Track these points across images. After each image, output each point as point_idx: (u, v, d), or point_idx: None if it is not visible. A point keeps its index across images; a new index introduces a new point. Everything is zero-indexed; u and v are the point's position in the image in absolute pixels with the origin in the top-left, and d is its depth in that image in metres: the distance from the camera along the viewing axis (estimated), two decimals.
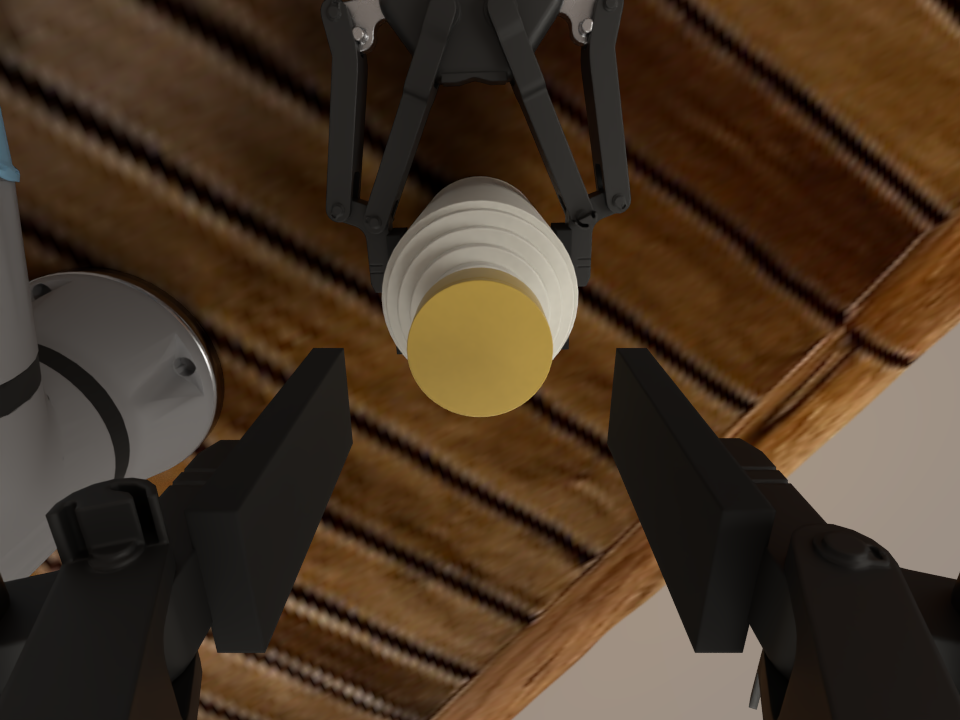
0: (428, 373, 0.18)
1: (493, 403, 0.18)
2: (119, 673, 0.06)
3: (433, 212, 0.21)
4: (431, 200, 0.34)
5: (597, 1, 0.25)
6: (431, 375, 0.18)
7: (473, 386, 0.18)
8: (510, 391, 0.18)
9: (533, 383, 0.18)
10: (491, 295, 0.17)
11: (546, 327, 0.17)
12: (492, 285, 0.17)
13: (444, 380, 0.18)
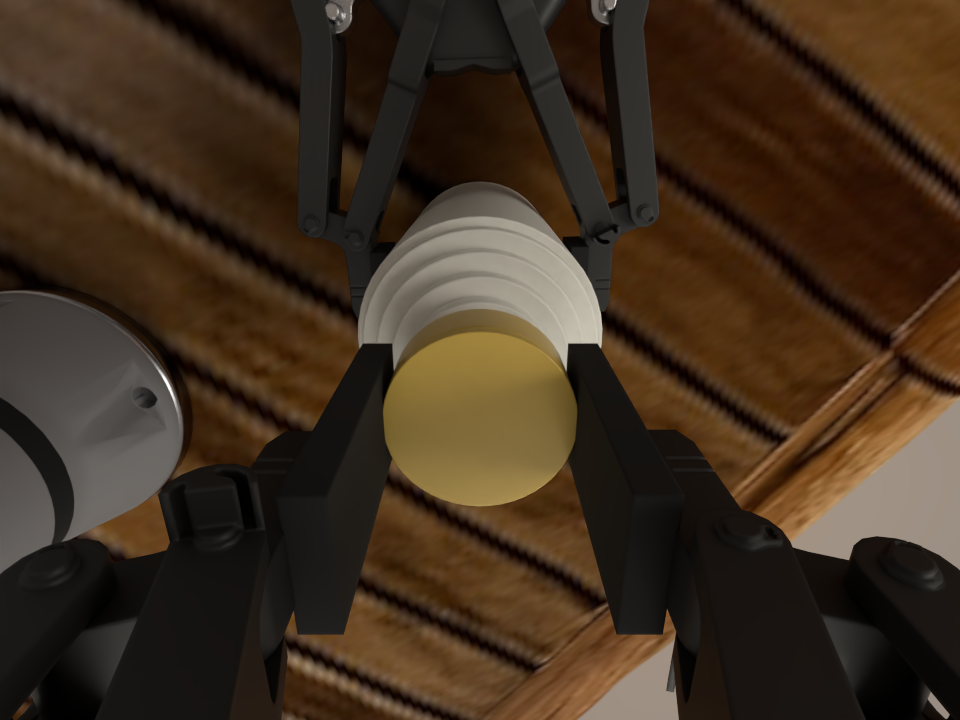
0: (411, 451, 0.13)
1: (498, 489, 0.14)
2: (223, 653, 0.06)
3: (421, 231, 0.17)
4: (424, 209, 0.30)
5: None
6: (415, 454, 0.13)
7: (471, 468, 0.13)
8: (520, 474, 0.13)
9: (551, 464, 0.13)
10: (495, 351, 0.12)
11: (570, 393, 0.13)
12: (497, 338, 0.12)
13: (432, 460, 0.13)
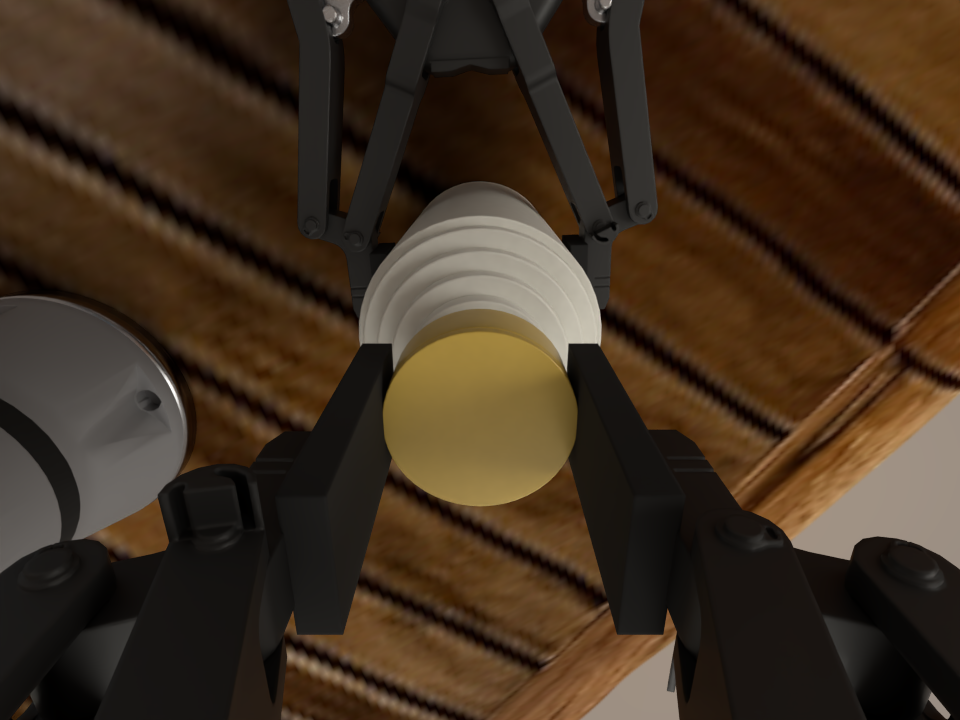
0: (542, 460, 0.13)
1: (536, 372, 0.12)
2: (222, 653, 0.06)
3: (420, 231, 0.17)
4: None
5: None
6: (543, 457, 0.13)
7: (528, 406, 0.13)
8: (508, 362, 0.12)
9: (479, 342, 0.12)
10: (407, 450, 0.13)
11: (400, 374, 0.12)
12: (396, 456, 0.13)
13: (540, 441, 0.13)
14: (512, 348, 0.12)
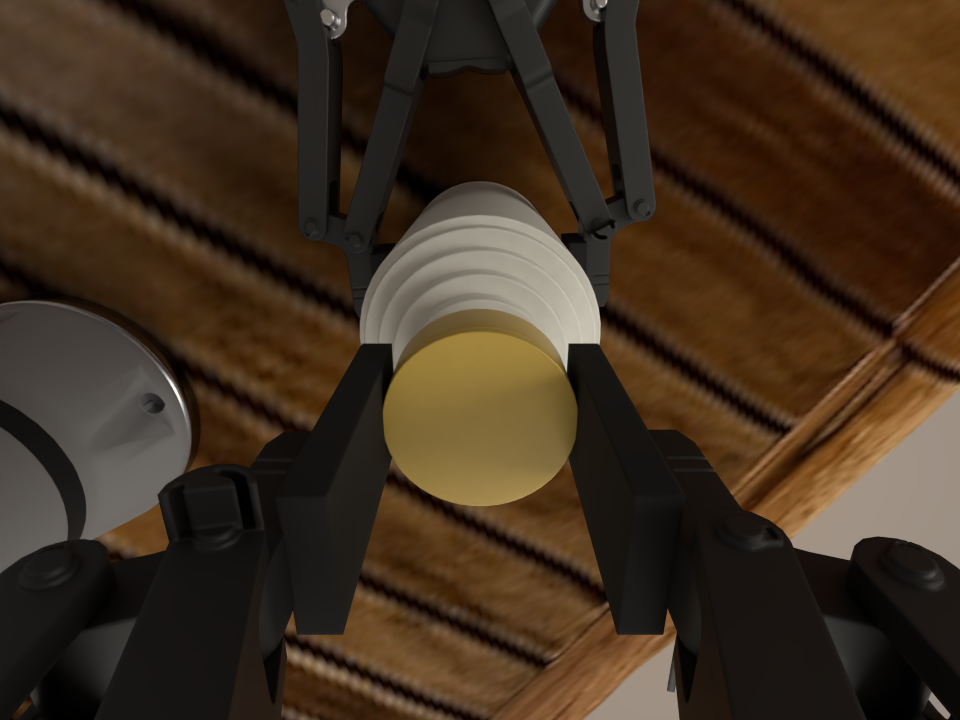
0: (480, 352, 0.12)
1: (401, 411, 0.13)
2: (222, 654, 0.06)
3: (419, 231, 0.17)
4: (423, 210, 0.30)
5: None
6: (476, 355, 0.12)
7: (436, 398, 0.13)
8: (409, 436, 0.13)
9: (409, 465, 0.13)
10: (543, 464, 0.13)
11: (475, 503, 0.14)
12: (554, 470, 0.13)
13: (462, 368, 0.12)
14: (396, 440, 0.13)
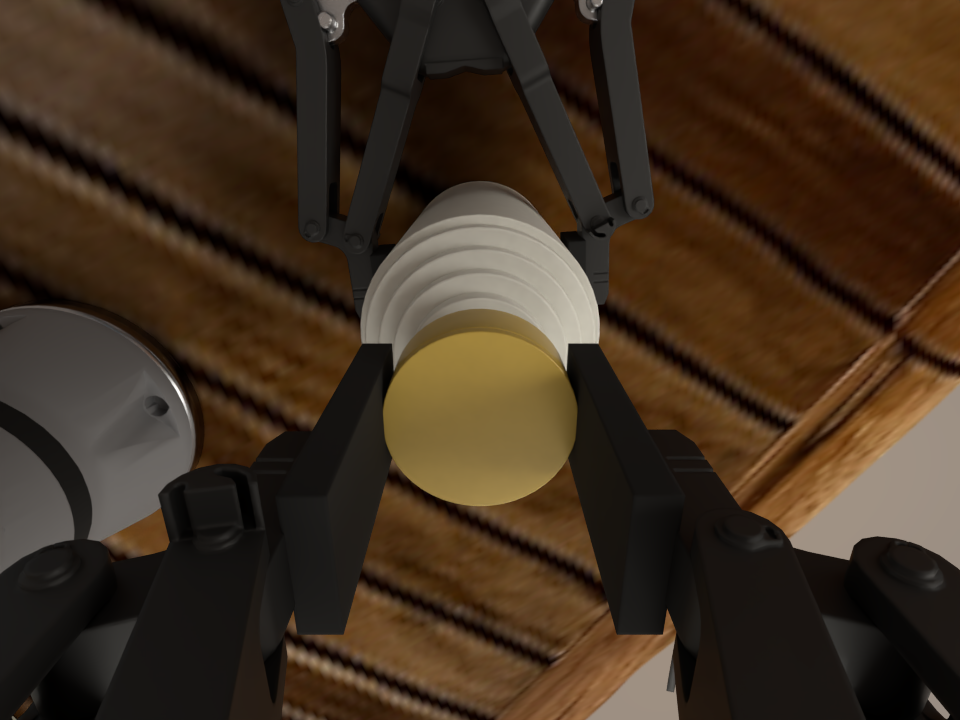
0: (416, 459, 0.13)
1: (508, 486, 0.14)
2: (223, 654, 0.06)
3: (418, 231, 0.17)
4: None
5: None
6: (421, 462, 0.13)
7: (478, 468, 0.13)
8: (528, 469, 0.13)
9: (557, 455, 0.13)
10: (484, 350, 0.12)
11: (565, 382, 0.12)
12: (483, 337, 0.12)
13: (439, 466, 0.13)
14: (539, 477, 0.13)
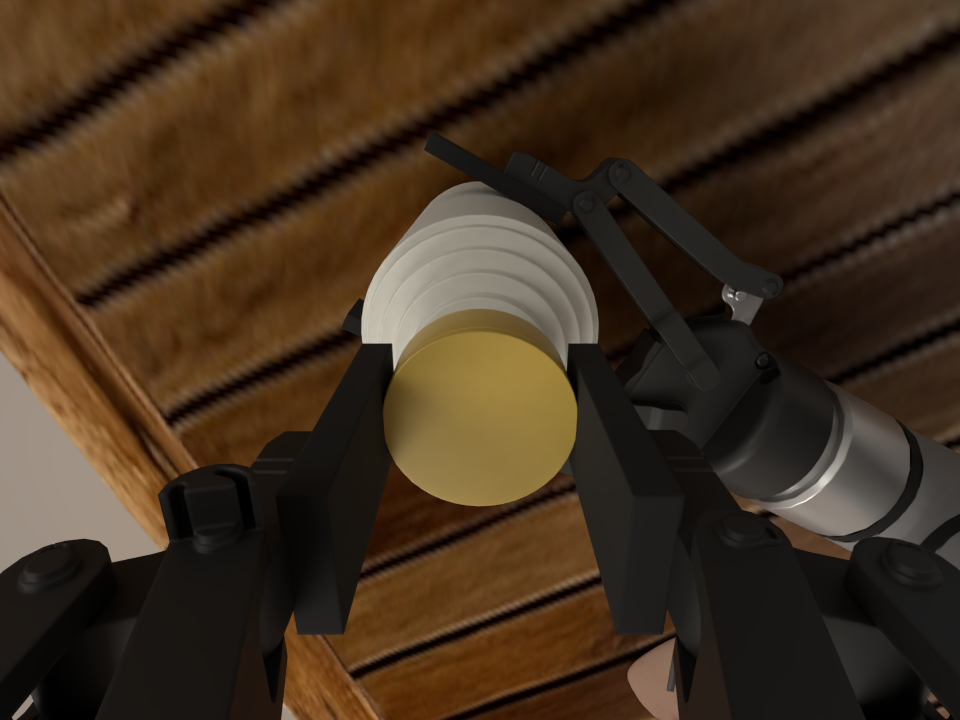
0: (416, 459, 0.13)
1: (508, 486, 0.14)
2: (222, 653, 0.06)
3: (596, 341, 0.19)
4: None
5: None
6: (421, 461, 0.13)
7: (478, 468, 0.13)
8: (528, 469, 0.13)
9: (557, 455, 0.13)
10: (484, 350, 0.12)
11: (565, 382, 0.12)
12: (483, 337, 0.12)
13: (439, 466, 0.13)
14: (539, 477, 0.13)
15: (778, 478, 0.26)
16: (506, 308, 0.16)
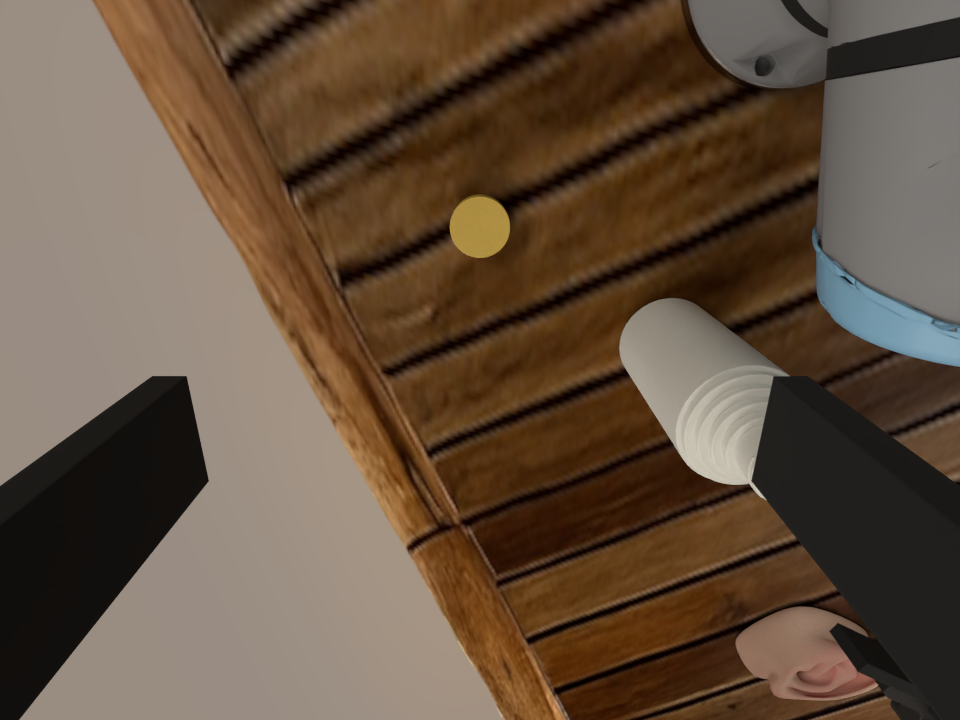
0: (460, 240, 0.42)
1: (488, 250, 0.43)
2: None
3: None
4: None
5: None
6: (461, 241, 0.42)
7: (479, 243, 0.43)
8: (495, 243, 0.43)
9: (504, 238, 0.42)
10: (481, 202, 0.41)
11: (505, 213, 0.42)
12: (481, 198, 0.41)
13: (467, 242, 0.42)
14: (498, 246, 0.43)
15: None
16: None
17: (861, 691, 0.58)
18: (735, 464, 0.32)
